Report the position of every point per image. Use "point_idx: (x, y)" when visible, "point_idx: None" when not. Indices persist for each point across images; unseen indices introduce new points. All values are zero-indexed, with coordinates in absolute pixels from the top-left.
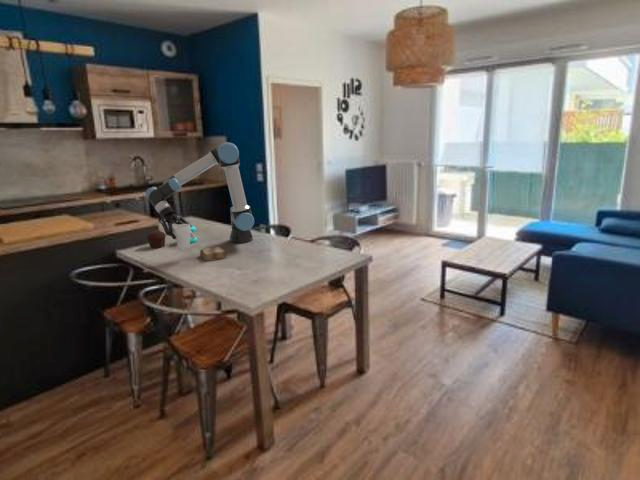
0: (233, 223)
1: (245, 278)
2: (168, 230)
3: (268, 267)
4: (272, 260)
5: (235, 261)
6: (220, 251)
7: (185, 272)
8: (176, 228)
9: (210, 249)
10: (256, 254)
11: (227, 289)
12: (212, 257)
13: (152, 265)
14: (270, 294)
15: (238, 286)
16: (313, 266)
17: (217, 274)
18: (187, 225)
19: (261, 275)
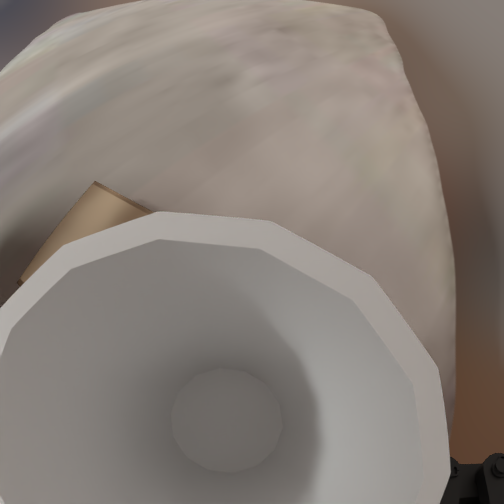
0: None
1: (286, 44)
2: (499, 494)
3: (172, 48)
4: (104, 73)
5: (145, 136)
6: (103, 197)
7: (395, 211)
8: (432, 395)
9: None
10: (44, 141)
11: (369, 47)
12: None
13: None
14: (321, 6)
15: (338, 39)
16: (134, 18)
17: (317, 100)
18: (6, 418)
19: (242, 33)
